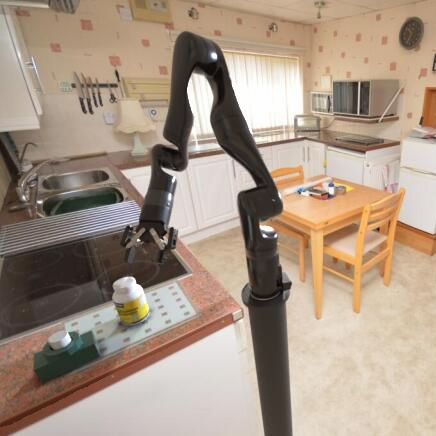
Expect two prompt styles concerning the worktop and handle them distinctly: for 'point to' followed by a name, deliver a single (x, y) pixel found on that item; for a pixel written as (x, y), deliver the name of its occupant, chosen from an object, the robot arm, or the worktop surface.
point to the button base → (65, 356)
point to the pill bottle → (130, 301)
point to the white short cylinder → (59, 340)
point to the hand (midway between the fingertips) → (143, 263)
